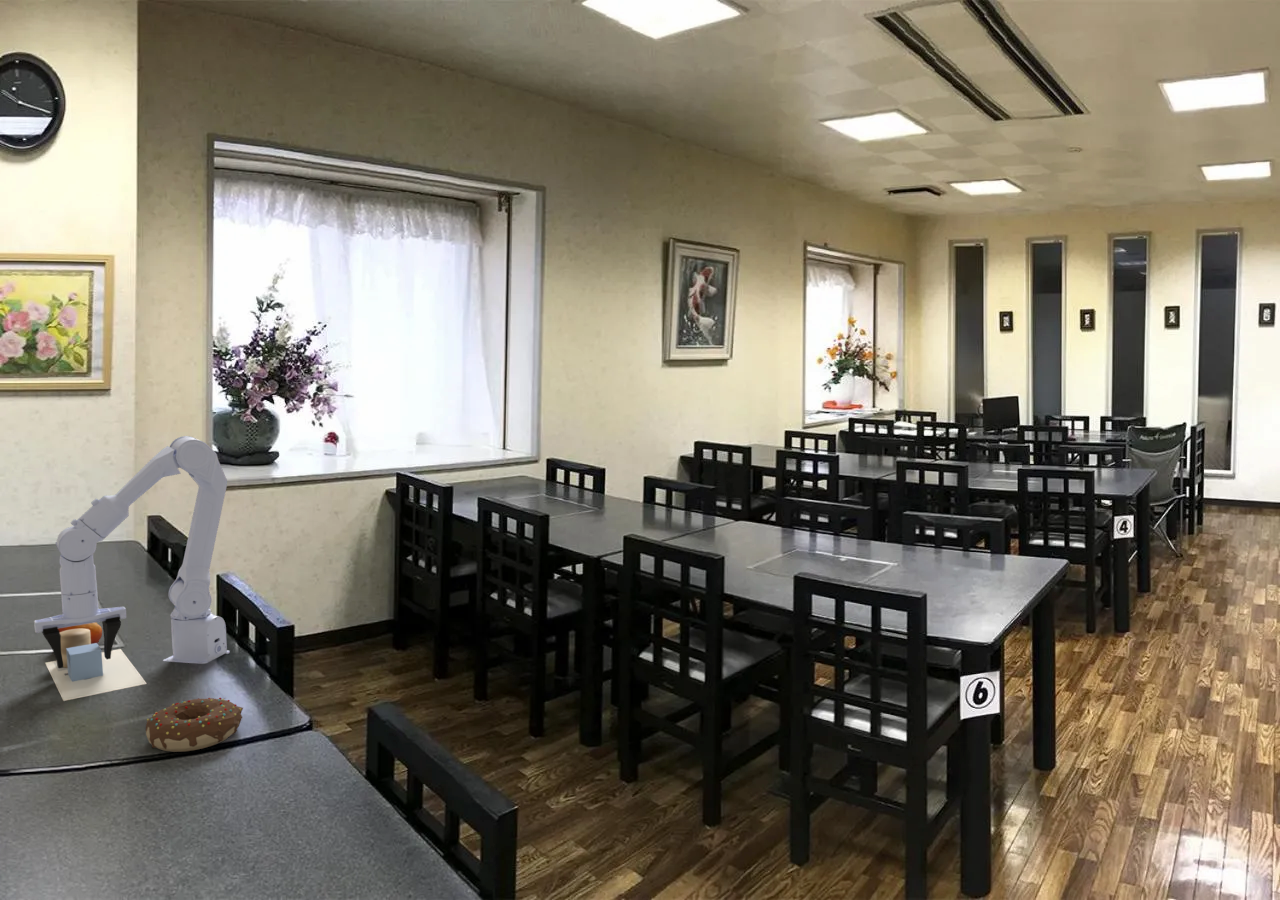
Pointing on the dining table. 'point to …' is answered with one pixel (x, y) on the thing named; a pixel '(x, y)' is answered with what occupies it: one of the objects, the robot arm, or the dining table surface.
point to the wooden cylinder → (73, 641)
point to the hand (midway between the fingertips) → (84, 662)
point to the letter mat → (114, 677)
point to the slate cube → (84, 662)
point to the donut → (193, 724)
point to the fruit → (93, 627)
